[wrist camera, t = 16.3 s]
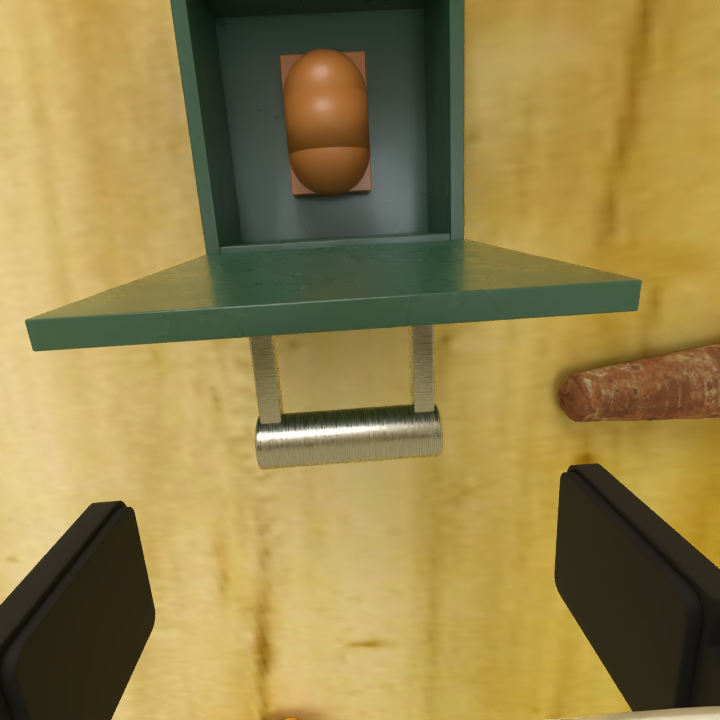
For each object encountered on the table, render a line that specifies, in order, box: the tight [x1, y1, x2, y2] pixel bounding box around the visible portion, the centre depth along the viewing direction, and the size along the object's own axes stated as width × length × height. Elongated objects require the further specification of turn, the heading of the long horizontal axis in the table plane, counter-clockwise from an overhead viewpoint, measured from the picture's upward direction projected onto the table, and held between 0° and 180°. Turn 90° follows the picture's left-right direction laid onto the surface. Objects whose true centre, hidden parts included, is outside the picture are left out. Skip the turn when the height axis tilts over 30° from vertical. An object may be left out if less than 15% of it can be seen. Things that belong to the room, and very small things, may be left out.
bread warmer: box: [170, 0, 464, 255], centre depth 29 cm, size 16×15×8 cm
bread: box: [558, 343, 720, 422], centre depth 37 cm, size 6×19×6 cm, turn 95°
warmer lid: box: [25, 239, 642, 470], centre depth 20 cm, size 16×15×6 cm
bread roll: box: [279, 49, 372, 198], centre depth 30 cm, size 8×5×5 cm, turn 3°
